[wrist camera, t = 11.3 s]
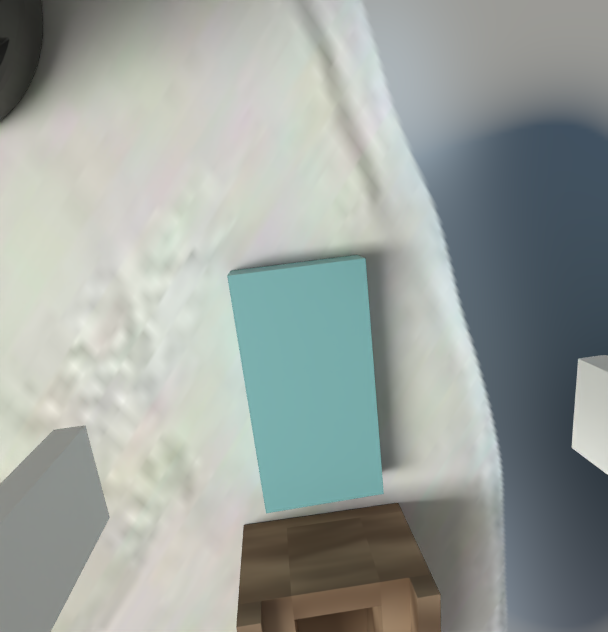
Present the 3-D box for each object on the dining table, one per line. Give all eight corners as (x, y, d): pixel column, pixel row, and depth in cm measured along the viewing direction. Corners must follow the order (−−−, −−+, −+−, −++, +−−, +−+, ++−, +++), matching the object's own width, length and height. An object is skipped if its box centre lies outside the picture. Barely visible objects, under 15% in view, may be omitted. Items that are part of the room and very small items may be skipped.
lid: (231, 269, 28) (227, 275, 26) (355, 254, 29) (365, 258, 26) (266, 487, 33) (266, 513, 30) (373, 469, 33) (383, 493, 31)
